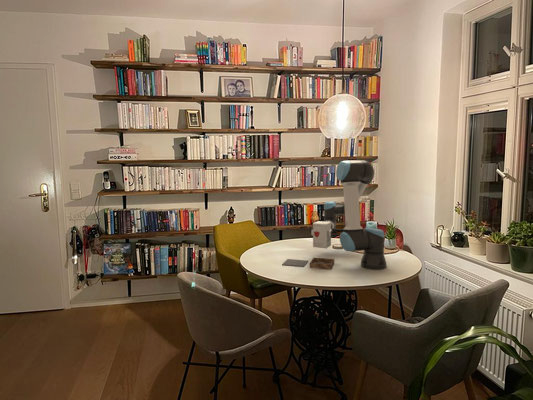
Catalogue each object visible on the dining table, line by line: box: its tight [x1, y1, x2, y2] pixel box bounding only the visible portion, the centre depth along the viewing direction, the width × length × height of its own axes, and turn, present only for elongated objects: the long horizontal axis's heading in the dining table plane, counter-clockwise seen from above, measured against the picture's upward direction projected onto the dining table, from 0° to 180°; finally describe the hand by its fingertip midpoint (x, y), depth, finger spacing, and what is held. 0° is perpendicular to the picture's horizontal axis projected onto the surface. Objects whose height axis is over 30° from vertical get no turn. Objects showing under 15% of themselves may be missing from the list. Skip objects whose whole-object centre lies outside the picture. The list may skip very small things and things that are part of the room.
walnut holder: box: [309, 256, 335, 270], centre depth 231 cm, size 13×13×3 cm
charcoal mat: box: [281, 258, 310, 268], centre depth 237 cm, size 14×13×1 cm
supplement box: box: [312, 220, 332, 249], centre depth 230 cm, size 9×9×15 cm
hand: (320, 233), depth 226 cm, fingers closed on supplement box, 10 cm apart
